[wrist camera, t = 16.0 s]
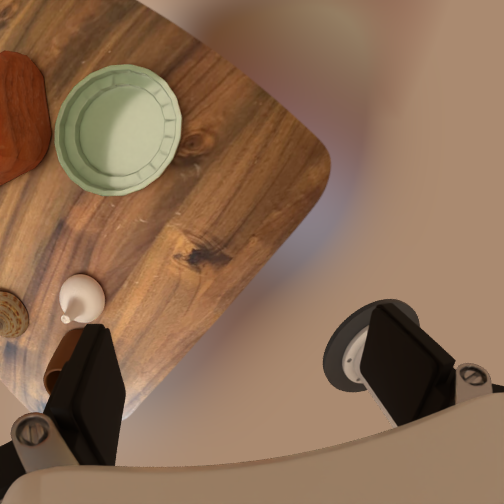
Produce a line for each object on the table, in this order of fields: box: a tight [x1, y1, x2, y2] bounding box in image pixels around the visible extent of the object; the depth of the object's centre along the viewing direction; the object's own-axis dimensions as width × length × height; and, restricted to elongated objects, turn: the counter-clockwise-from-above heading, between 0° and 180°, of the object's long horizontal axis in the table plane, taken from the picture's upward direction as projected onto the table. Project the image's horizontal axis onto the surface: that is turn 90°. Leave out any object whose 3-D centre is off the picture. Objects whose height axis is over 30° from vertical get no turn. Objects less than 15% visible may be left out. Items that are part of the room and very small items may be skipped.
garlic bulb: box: [59, 274, 105, 324], centre depth 34 cm, size 6×6×8 cm
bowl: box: [55, 64, 183, 196], centre depth 30 cm, size 14×14×4 cm
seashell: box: [0, 292, 29, 338], centre depth 35 cm, size 8×6×8 cm
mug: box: [43, 329, 84, 395], centre depth 36 cm, size 12×8×9 cm, turn 153°
